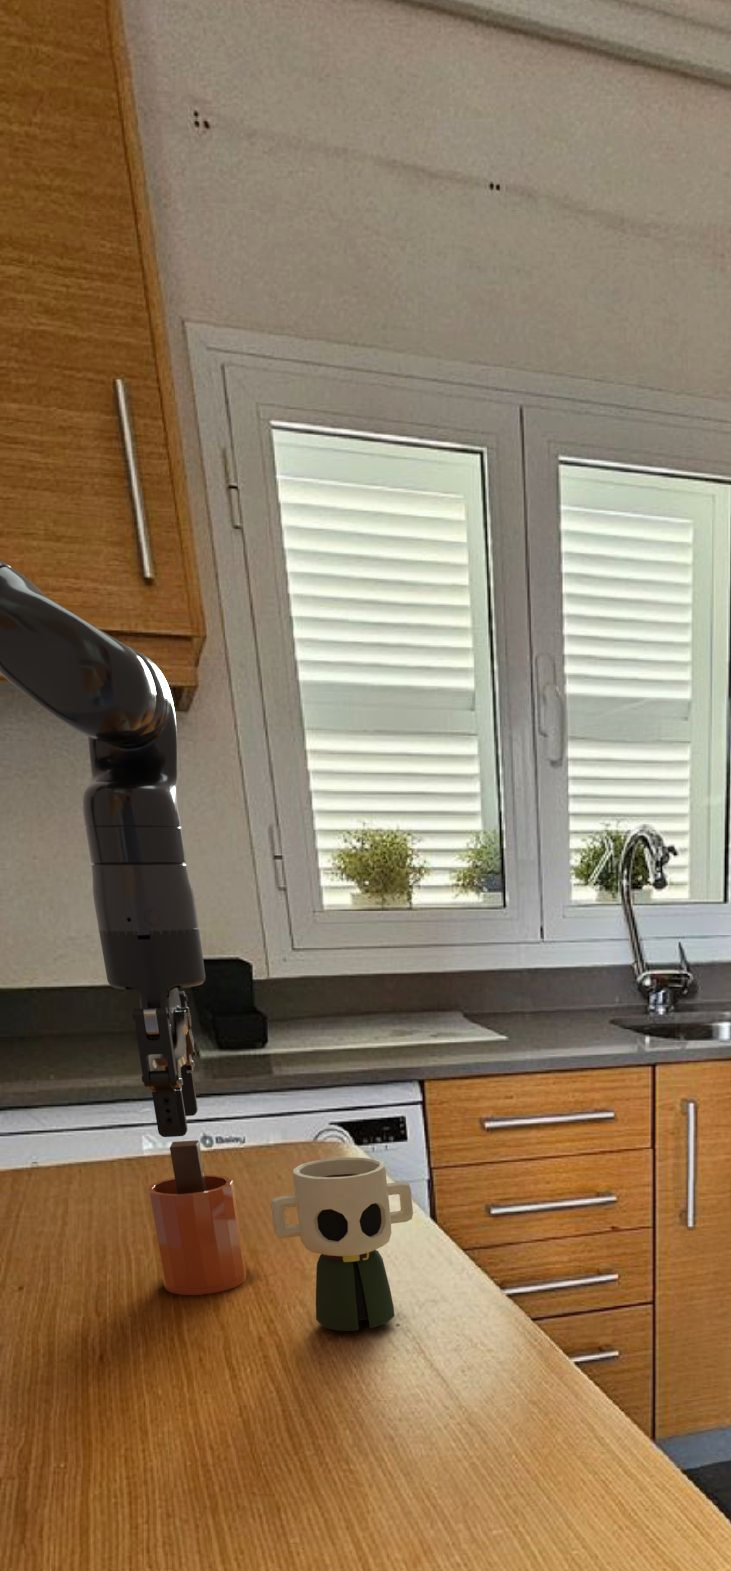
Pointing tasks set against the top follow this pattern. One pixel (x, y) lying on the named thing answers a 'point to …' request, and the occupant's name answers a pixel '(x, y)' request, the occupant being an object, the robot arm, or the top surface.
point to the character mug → (345, 1235)
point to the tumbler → (197, 1236)
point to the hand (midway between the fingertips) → (179, 1125)
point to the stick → (188, 1167)
